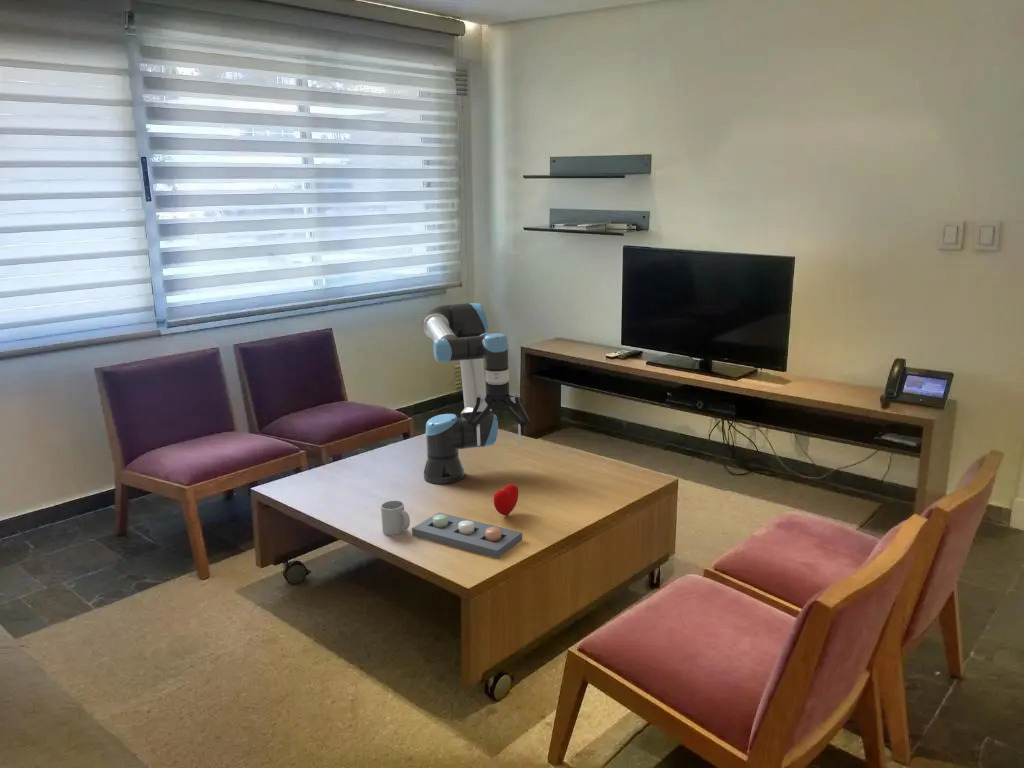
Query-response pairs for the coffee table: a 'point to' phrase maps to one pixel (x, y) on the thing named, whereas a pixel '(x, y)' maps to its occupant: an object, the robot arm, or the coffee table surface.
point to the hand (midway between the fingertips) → (499, 444)
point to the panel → (472, 542)
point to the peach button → (493, 534)
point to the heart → (506, 499)
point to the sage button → (440, 521)
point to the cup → (394, 518)
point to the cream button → (466, 527)
